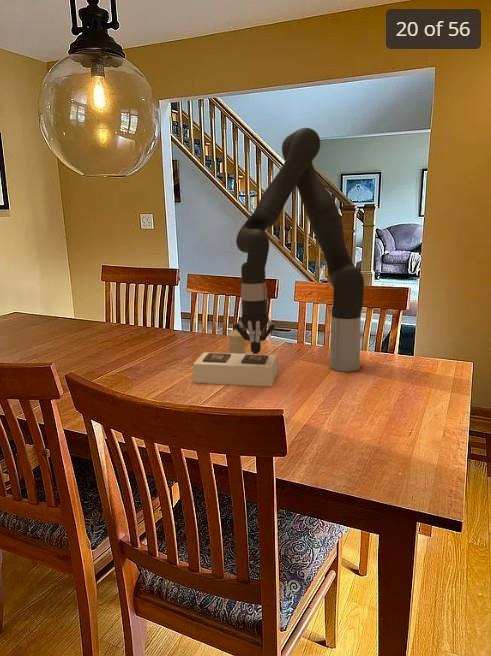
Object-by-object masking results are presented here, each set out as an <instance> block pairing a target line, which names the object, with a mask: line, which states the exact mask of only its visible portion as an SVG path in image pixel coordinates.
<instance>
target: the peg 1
mask: <svg viewBox="0 0 491 656" xmlns="http://www.w3.org/2000/svg"><path fill="white" fill-rule="evenodd" d="M224 357H225V355H212V356H211V357H210V359H223V358H224Z"/></svg>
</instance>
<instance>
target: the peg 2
mask: <svg viewBox="0 0 491 656" xmlns="http://www.w3.org/2000/svg"><path fill="white" fill-rule="evenodd" d="M262 359H263V357H261V356H250V357H249V359H248V360H249V361H262Z"/></svg>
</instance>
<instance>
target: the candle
mask: <svg viewBox="0 0 491 656" xmlns="http://www.w3.org/2000/svg"><path fill="white" fill-rule="evenodd" d="M228 353H236V354H246V340H245V339H244V338H243V337H242V336H241V335H240V333H239V332H238V331H237V330H236V329H233V330H231V331H230V333H228Z"/></svg>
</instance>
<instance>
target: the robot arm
mask: <svg viewBox="0 0 491 656" xmlns="http://www.w3.org/2000/svg"><path fill="white" fill-rule="evenodd" d="M320 149H321V139H320V135H319V133H318V132H317V131H316V130H314V129H313V128H310V127H301V128H299V129H297V130H296V131H295V130H294V132H292V133H291V134H289V135H287V136H286V138H284V139H283V142H282V145H281V152H282V157H283V159H284V163H283V164H282V165H281V168H280V170H279V171H278V173H277V174H276V176H275V177H274V178H273V180H272V181H271V182H270V183H269V185H268V187H267V188H266V189H265V190H264V192H263V193H262V195H261V197H260V200H259V202H258V203H257V205H256V207H255V209H254V212H253V213H252V214H251V215H250V216H249V217H248V218H247V220H246V221H245V223H243V225H242V227H240V230H239V231H238V233H237V235H236V239H235V240H236V241H235V243H236V247H237V249H238V250H239V251H240V252H242V253H246V254H247V259H246V261H245V262H244V263H242V265H241V268H240V269H241V289H240V298H241V317H240V320H239V321H237V322H236V323H235V324H233V325H234V326H233V327H234V328H235V330H237V331H238V332H239V333H240V335H241V336H242V337H243V338H244V339H245V341H248V342H249V343H250V352H251V353H252V354H260V352H261V348H262V347H261V346H262V344H261V342H262V341H266V339H268V336H269V335H270V334H271V333H272V332H273V330H274V329H275V327H276V325H277V324H276V322H273V321H271V320H270V317H269V316H268V299H267V297H268V295H267V294H268V293H267V285H266V265H267V262H268V256H269V253H270V251H269V250H270V239H269V237H268V235H267V232H265V231H266V230H267V229H269V228H272V227H273V226H274V225H275V224H276V223H277V220H278V219H279V217H280V215H281V213H282V211H283V209H284V208H285V206H286V203H287V201H288V199H289V197H290V196H291V194H292V192H293V191H294V189H295V187H296V188H297V190H298V193H299V196H300V198H301V202H302V204H303V207H304V210H305V213H306V216H307V219H308V222H309V224H310V227H311V229H312V232H313V234H314V237H315V239H316V241H317V243H318V245H319V247H320V250H321V251H322V254H323V257H324V259H325V262H326V267H327V270H328V275H329V280H330V283H331V286H332V288H333V294H332V295H333V298H332V299H333V300H332V306H331V311H330V314H331V315H330V317H331V318H330V319H331V320H330V357H329V359H330V360H329V361H330V362H329V363H330V364H329V367H330V369H331V370H333V371H337V372H344V373H346V372H348V373H349V372H355V371H357V372H358V371H360V359H361V356H360V355H361V318H362V317H361V316H362V309H363V306H364V295H365V293H364V292H365V291H364V290H365V279H364V275H363V274H362V272H361V270H359V269H358V268H357V267H356V266H355V265H354V262H353V261H352V258H351V256H350V253H349V251H348V249H347V246H346V241H345V232H344V226H343V221H342V218H341V215H340V211H339V209H338V206H337V203H336V201H335V198H334V197H333V195H332V194H331V192H330V191H329V190H328V189H327V188H326V187H325V186H324V184H323V182H322V181H321V180H320V179H319V177H318V175H317V173H316V170H315V167H314V165H313V161H314V159H315V158H316V157H317V155H318V154H319V152H320ZM265 327H266V328H267V329H266V331H265V332H264V333H263V335H262V330H263V329H264V328H265ZM245 329H246V330H247V331H248V332H247V331H246V330H245Z"/></svg>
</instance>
